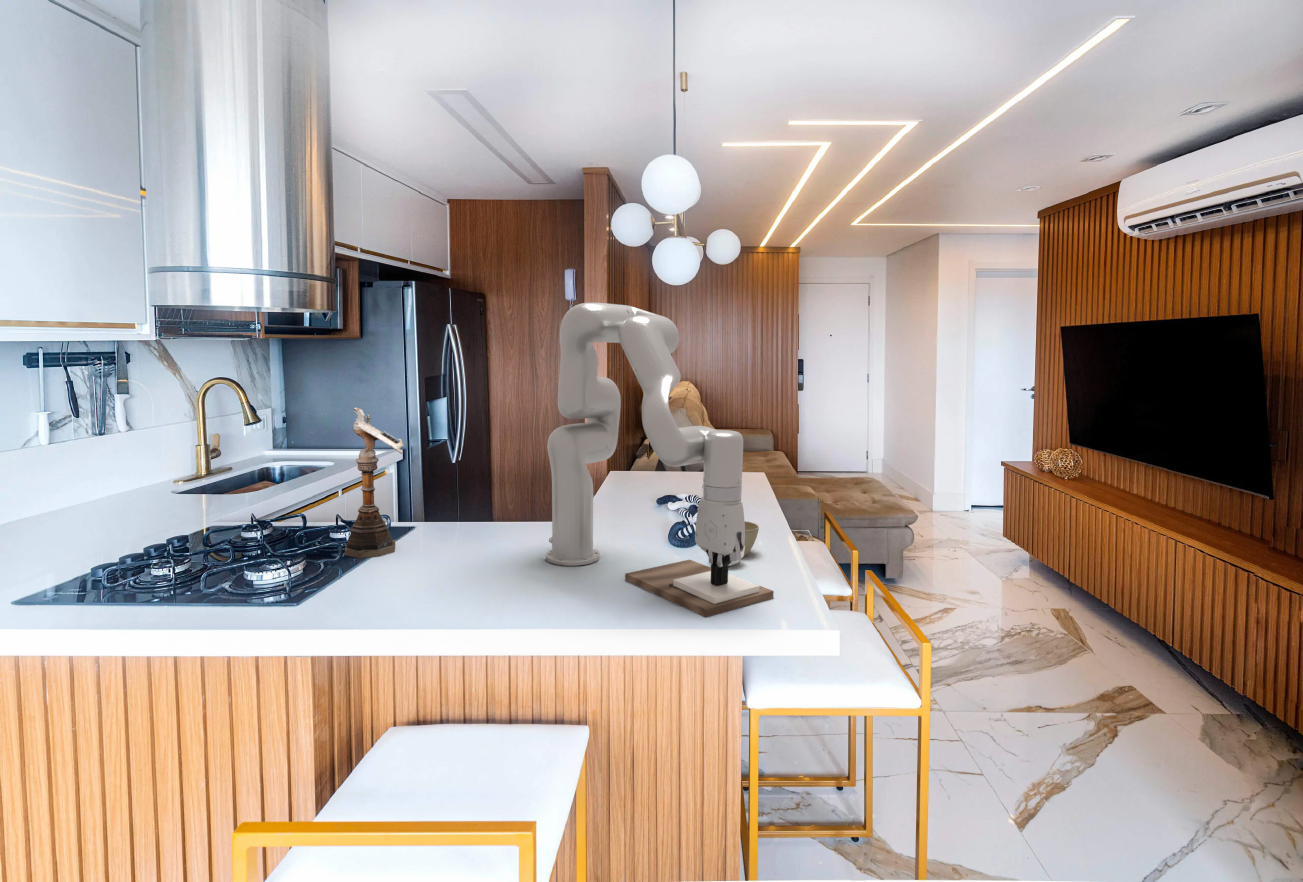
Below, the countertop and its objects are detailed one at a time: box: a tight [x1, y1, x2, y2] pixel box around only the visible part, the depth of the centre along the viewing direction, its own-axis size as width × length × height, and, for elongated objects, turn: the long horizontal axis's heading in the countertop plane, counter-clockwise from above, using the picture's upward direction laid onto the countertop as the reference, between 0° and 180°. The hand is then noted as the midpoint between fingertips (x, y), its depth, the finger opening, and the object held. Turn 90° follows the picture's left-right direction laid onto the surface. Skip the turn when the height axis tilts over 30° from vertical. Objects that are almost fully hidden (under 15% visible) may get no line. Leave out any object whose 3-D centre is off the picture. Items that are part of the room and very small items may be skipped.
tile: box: [673, 571, 761, 604], centre depth 145 cm, size 12×12×1 cm
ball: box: [724, 546, 745, 567], centre depth 167 cm, size 8×8×8 cm
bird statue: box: [344, 407, 404, 559], centre depth 173 cm, size 17×13×35 cm
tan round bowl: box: [743, 520, 760, 557], centre depth 176 cm, size 10×10×7 cm
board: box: [624, 559, 775, 618], centre depth 150 cm, size 26×18×2 cm
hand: (719, 583), depth 144 cm, fingers closed
